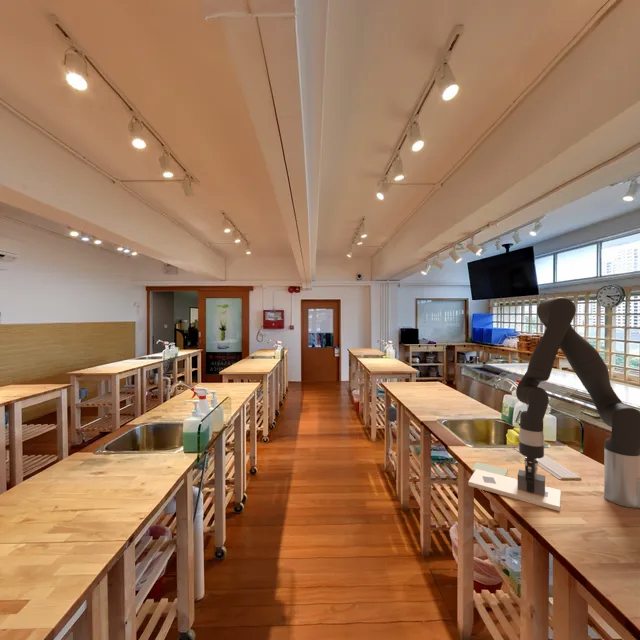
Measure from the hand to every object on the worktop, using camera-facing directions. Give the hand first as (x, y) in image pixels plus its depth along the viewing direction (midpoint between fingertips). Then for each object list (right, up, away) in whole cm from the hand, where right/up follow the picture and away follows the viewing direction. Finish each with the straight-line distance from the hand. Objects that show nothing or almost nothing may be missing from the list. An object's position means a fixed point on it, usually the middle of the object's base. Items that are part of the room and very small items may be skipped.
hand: (531, 488), depth 119 cm
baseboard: (+22, -3, +26) cm, 34 cm away
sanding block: (0, -1, 0) cm, 1 cm away
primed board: (-4, -2, +4) cm, 6 cm away
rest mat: (-5, -2, +19) cm, 20 cm away
